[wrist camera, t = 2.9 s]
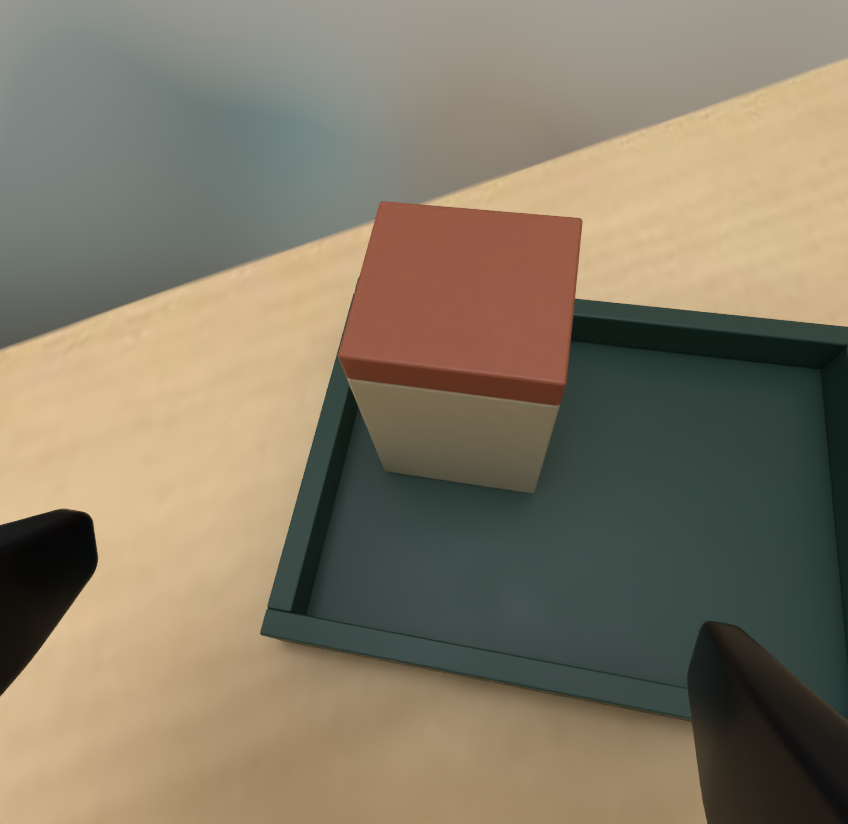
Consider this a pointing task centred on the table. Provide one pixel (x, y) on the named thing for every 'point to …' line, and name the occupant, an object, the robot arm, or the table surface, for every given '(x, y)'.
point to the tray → (600, 521)
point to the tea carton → (463, 340)
